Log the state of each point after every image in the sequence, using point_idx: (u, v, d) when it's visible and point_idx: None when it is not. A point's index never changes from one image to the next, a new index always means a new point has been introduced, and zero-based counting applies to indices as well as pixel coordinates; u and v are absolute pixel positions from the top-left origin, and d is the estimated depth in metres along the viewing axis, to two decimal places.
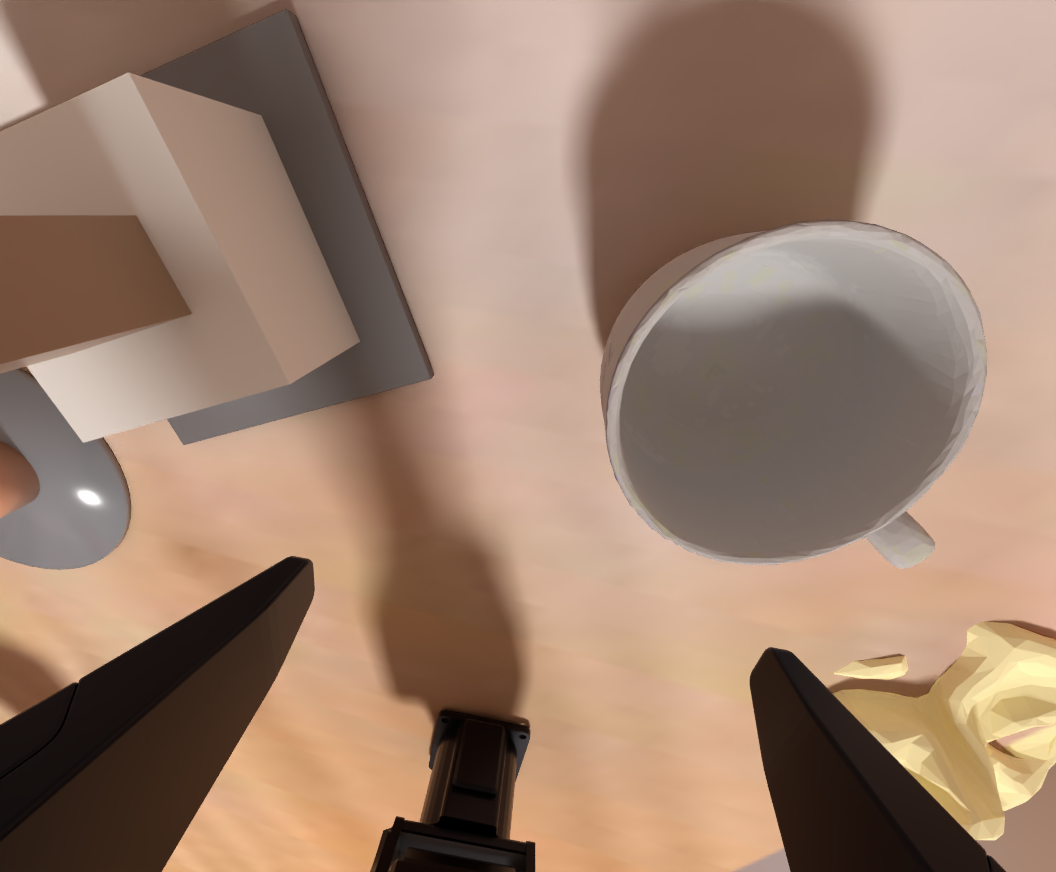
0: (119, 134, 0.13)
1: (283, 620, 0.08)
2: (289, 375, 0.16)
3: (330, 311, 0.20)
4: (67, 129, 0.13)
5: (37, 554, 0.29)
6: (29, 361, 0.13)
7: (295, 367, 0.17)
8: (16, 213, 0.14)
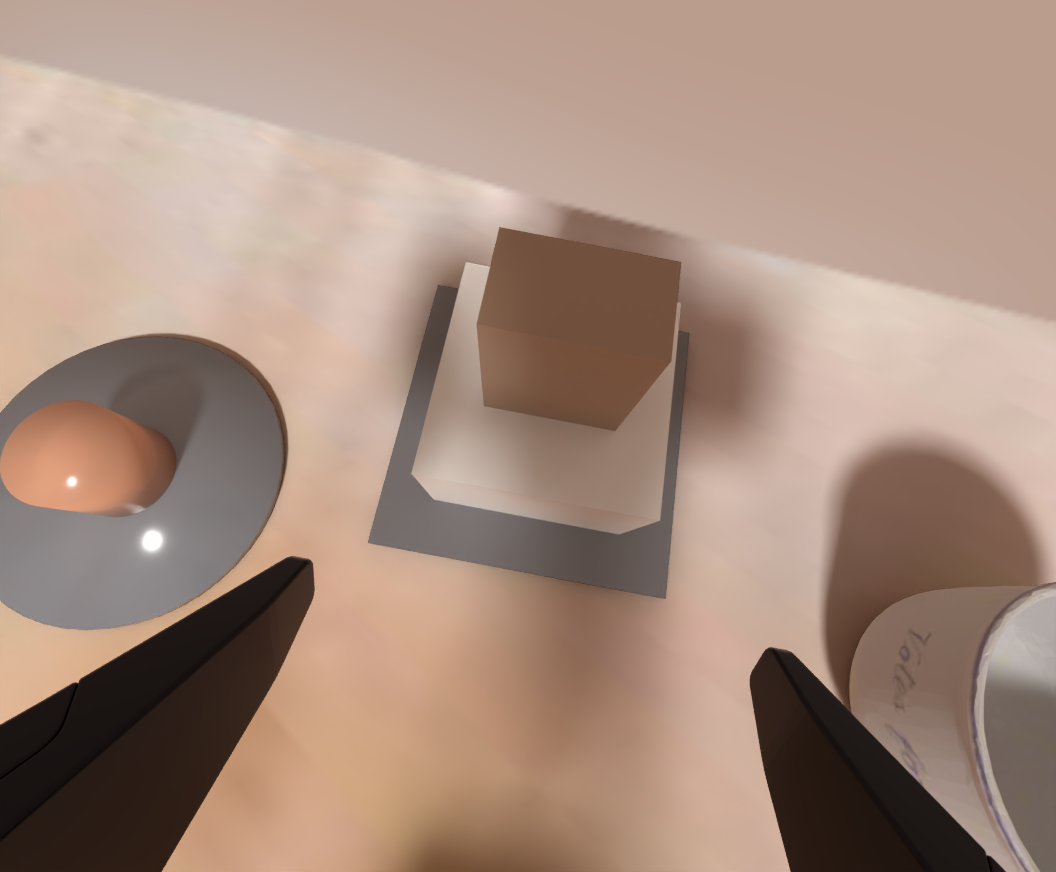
0: None
1: (283, 620, 0.08)
2: None
3: None
4: None
5: (25, 581, 0.21)
6: (566, 384, 0.14)
7: None
8: None
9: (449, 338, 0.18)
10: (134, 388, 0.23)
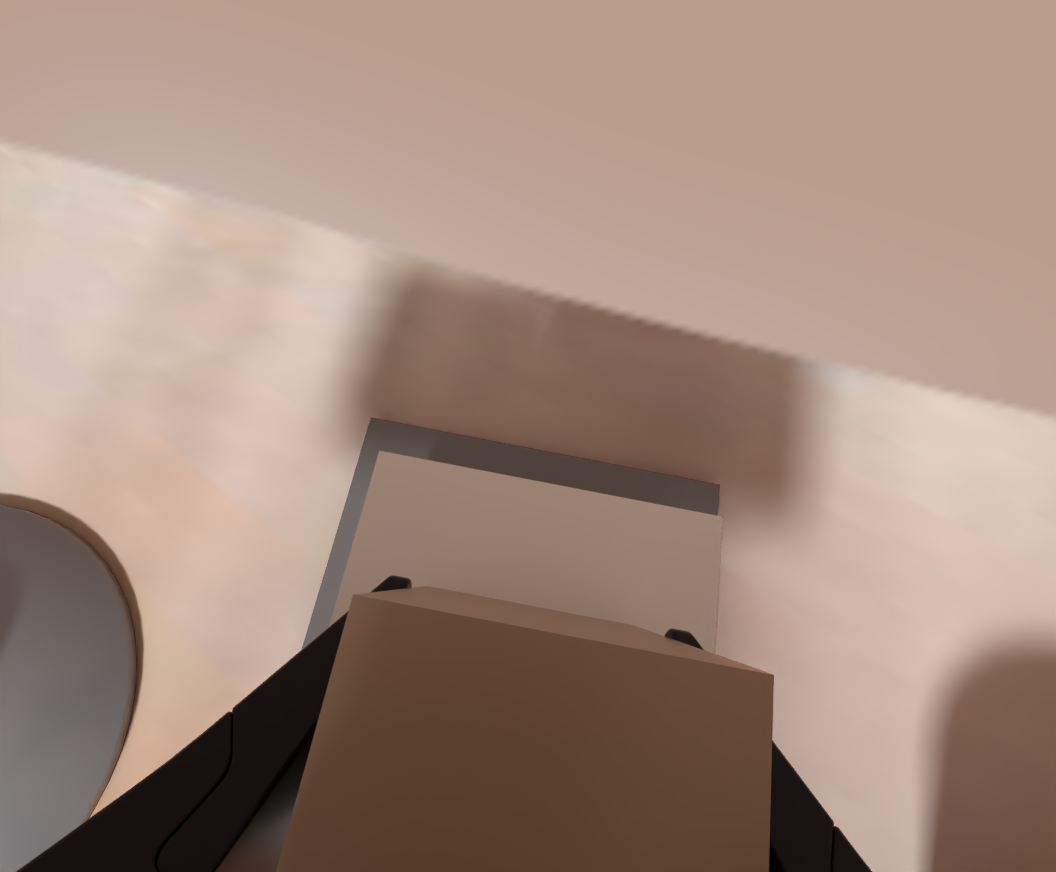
0: (674, 552, 0.12)
1: None
2: None
3: None
4: (622, 519, 0.12)
5: None
6: None
7: None
8: (491, 548, 0.12)
9: (343, 594, 0.11)
10: None
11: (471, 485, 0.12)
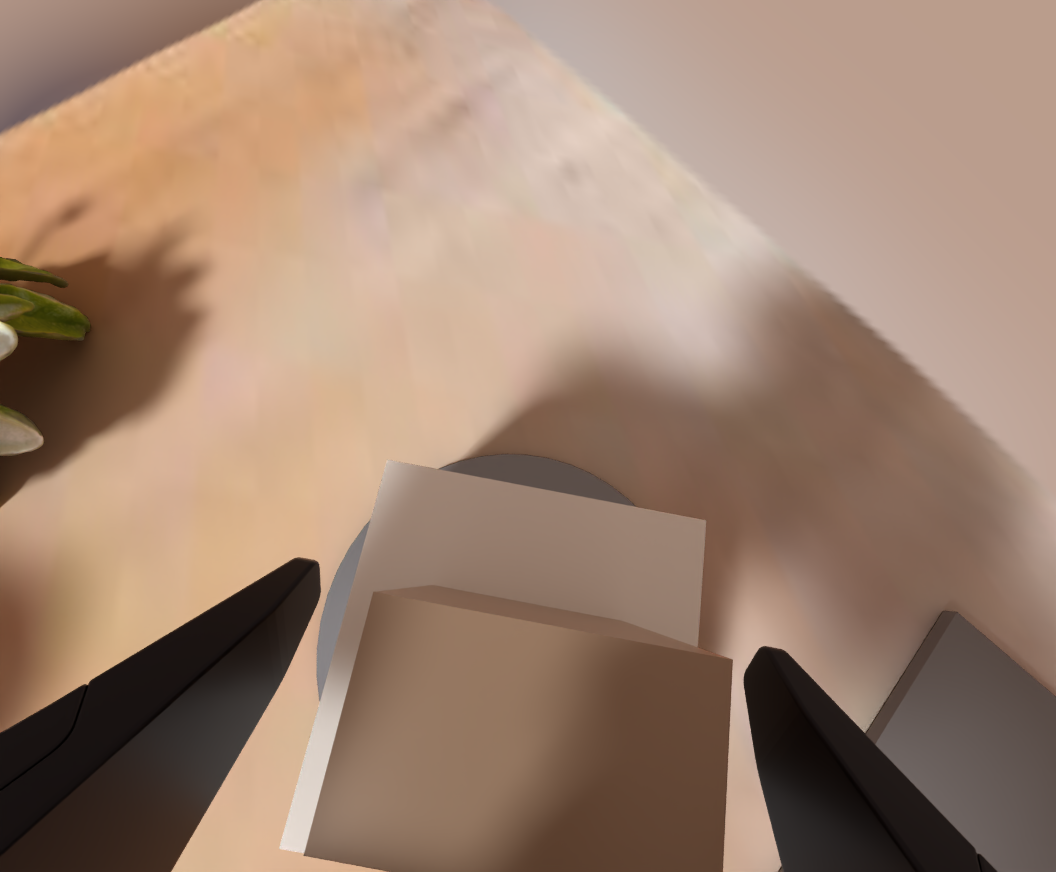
0: (661, 553, 0.13)
1: (290, 621, 0.08)
2: None
3: None
4: (612, 523, 0.13)
5: None
6: None
7: None
8: (491, 550, 0.12)
9: (355, 593, 0.12)
10: None
11: (472, 492, 0.13)
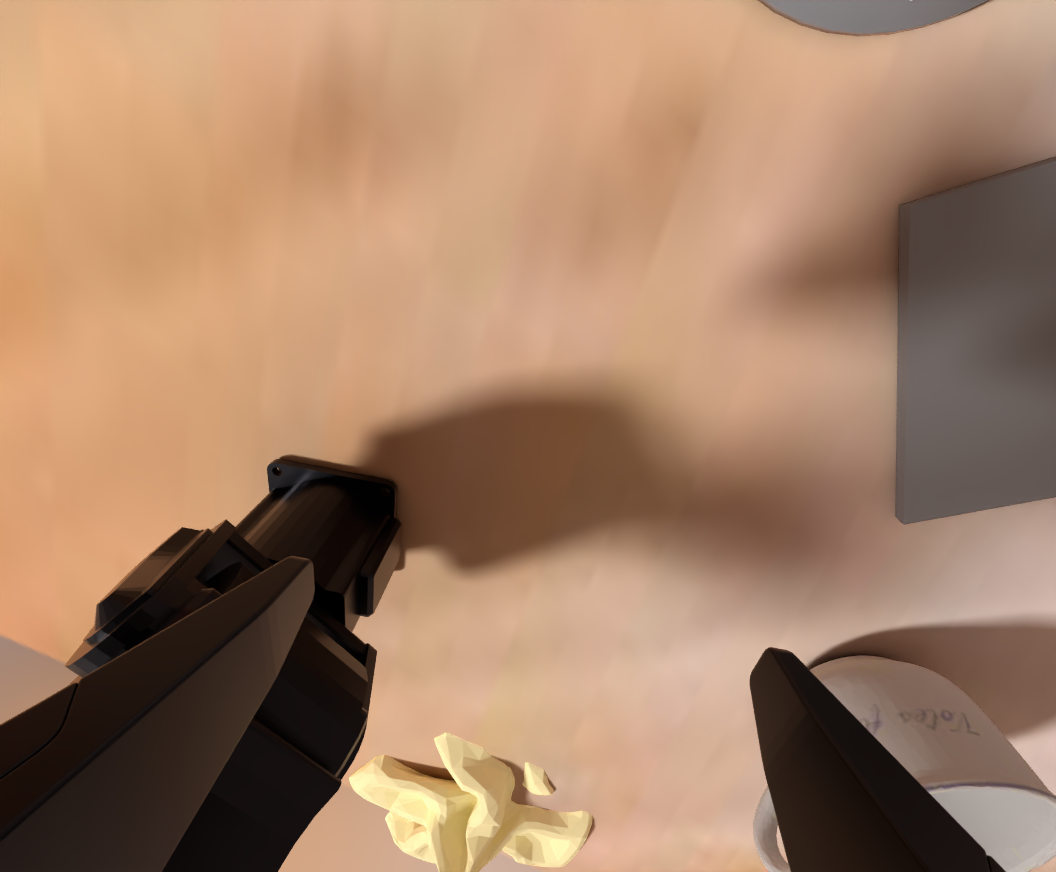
0: None
1: (283, 620, 0.08)
2: None
3: None
4: None
5: None
6: None
7: None
8: None
9: None
10: None
11: None
